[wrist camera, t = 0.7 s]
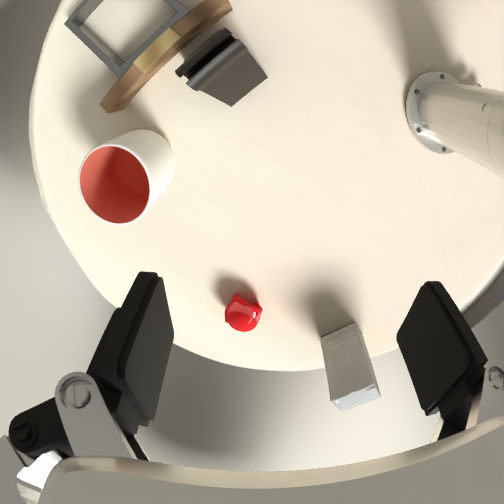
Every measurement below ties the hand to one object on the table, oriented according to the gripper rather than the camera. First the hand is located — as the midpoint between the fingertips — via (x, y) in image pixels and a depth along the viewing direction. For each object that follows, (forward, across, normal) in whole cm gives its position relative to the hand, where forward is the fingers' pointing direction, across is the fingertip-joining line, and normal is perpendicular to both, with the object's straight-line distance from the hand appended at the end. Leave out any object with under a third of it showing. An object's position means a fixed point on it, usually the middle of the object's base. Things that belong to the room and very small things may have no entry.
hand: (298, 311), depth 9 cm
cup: (+30, +17, +3) cm, 35 cm away
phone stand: (+30, +6, -10) cm, 32 cm away
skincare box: (+30, -19, +37) cm, 51 cm away
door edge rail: (+30, +13, -13) cm, 35 cm away
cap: (+30, +2, +28) cm, 41 cm away
